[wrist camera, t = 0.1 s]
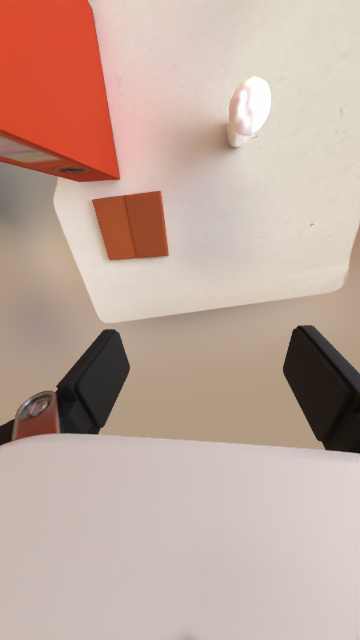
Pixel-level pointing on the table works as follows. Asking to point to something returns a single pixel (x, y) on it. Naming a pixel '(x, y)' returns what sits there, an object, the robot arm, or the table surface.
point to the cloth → (132, 225)
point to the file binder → (54, 91)
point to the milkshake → (247, 110)
